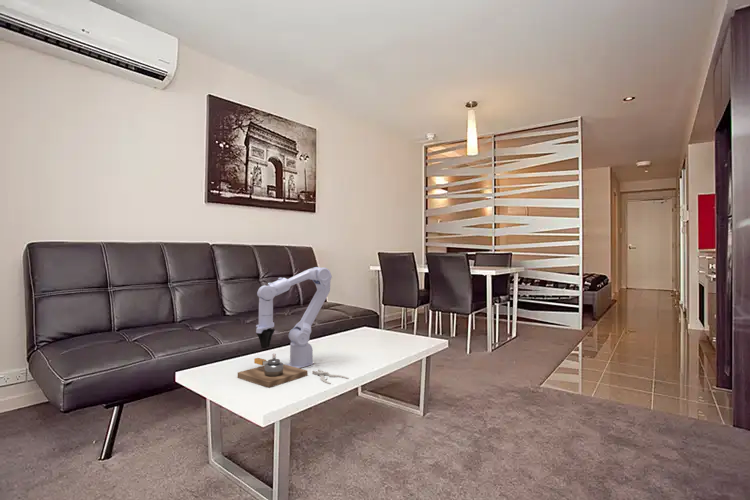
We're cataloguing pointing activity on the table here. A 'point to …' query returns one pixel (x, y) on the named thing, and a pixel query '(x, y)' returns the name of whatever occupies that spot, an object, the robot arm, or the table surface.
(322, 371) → the pliers
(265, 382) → the bench block
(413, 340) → the table surface
